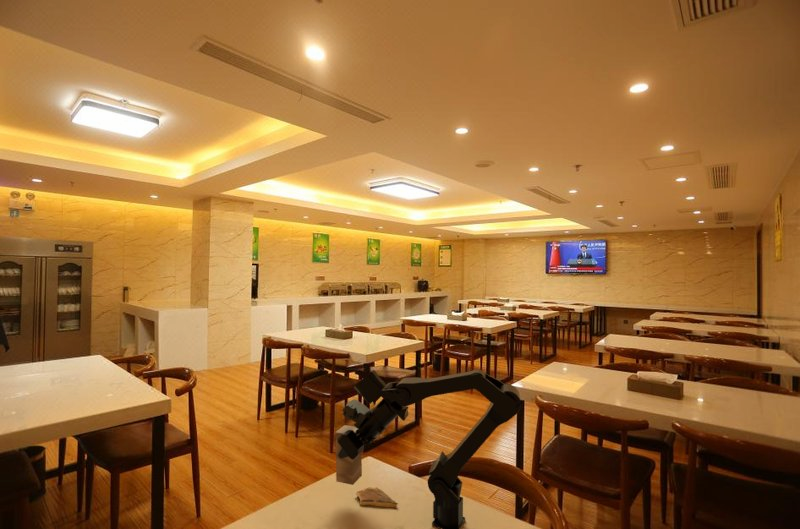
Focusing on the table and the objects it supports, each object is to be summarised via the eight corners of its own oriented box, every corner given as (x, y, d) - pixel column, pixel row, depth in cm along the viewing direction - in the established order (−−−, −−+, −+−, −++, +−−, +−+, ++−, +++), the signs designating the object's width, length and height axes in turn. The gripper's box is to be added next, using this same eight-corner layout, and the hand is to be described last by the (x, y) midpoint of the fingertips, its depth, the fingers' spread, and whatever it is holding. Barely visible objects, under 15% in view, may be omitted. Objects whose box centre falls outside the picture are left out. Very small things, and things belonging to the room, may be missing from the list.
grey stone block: (361, 475, 106) (360, 427, 107) (352, 484, 102) (351, 434, 102) (345, 472, 108) (344, 425, 108) (336, 481, 104) (335, 432, 104)
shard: (398, 509, 103) (398, 502, 103) (373, 519, 98) (373, 512, 98) (375, 490, 112) (375, 484, 112) (352, 499, 107) (352, 492, 107)
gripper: (376, 382, 113) (342, 416, 117) (344, 402, 95) (306, 441, 99) (402, 413, 110) (366, 447, 113) (373, 439, 92) (333, 478, 96)
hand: (344, 452), depth 106 cm, fingers closed on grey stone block, 5 cm apart
